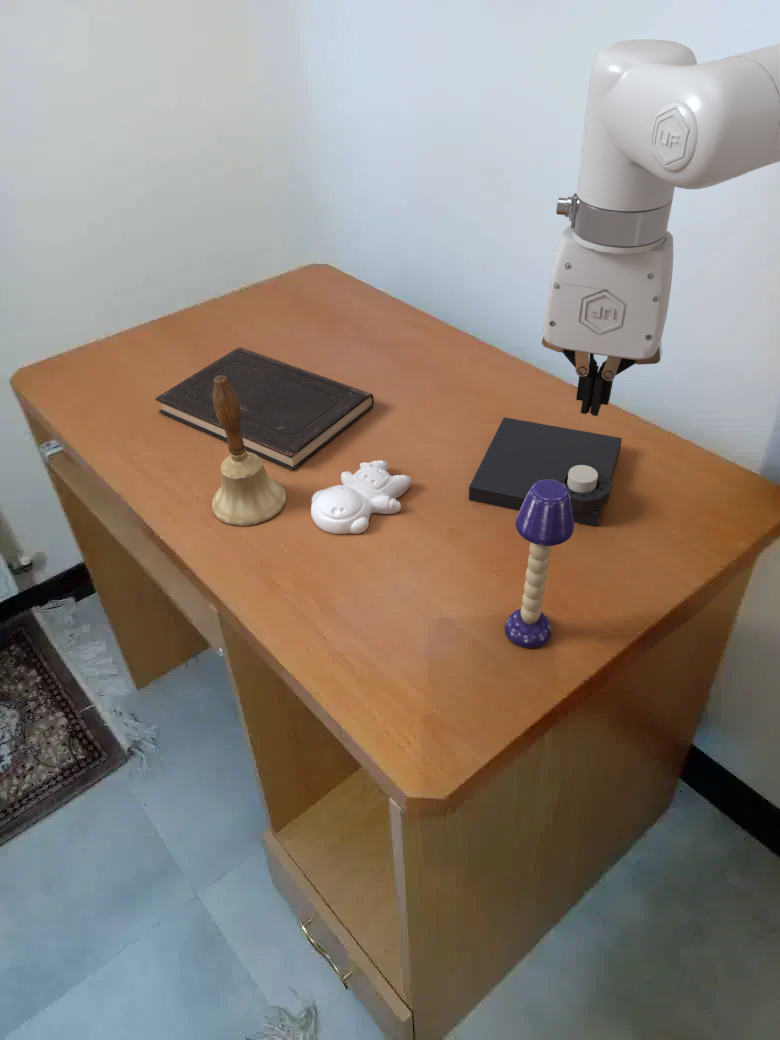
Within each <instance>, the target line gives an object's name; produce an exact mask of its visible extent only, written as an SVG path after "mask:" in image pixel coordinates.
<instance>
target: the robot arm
mask: <svg viewBox="0 0 780 1040" xmlns="http://www.w3.org/2000/svg"><path fill="white" fill-rule="evenodd" d="M587 89H588V90H587V96H586V107H585V115H584V125H583V132H582V133H583V134H582V143H581V148H580V150H581V151H580V158H579V159H580V160H579V169H578V177H577V187H576V192H575V193H574V194H573V195H572V196H567V197H559V198H558V199H557V203H556V210H555V211H556V212H555V213H556V215H558V216H564V218H568V221H569V222H571V223H570V225H568V226H567V227H566V228H565V229H564V230H563V232H562V234H561V236H560V239H559V243H558V244H557V245H558V246H557V249H556V253H555V257H554V261H553V265H552V270H551V275H550V280H549V287H548V293H547V298H546V307H545V313H544V319H543V329H542V331H543V333H542V334H543V337H542V340H541V345H542V347H544V348H546V349H549V350H552V351H555V352H557V353H562V354H563V356H565V358H566V359H567V360H568V361H569V362H570V363H571V365H572V366H573V367H574V368H575V373H576V375H577V376H578V383H577V389H576V396H575V400H576V401H581V407H580V414H582V415H587V414H590V415H591V416H593V417H594V416H595V417H598V416H599V413H600V410H601V407H602V405H604V406H609V402H610V400H611V395H612V389H613V383H614V379H615V378H616V377H617V376H618V375H619V374H621V373H622V372H624V371H626V370H628V369H629V368H631V367H632V366H634V365H638V366H639V365H656V364H659V363H660V362H661V358H662V355H663V346H662V345H663V343H662V337H663V334H664V329H665V324H666V322H667V321H666V320H667V317H668V310H669V304H670V303H669V302H670V296H671V291H672V290H671V289H672V281H673V273H674V272H673V270H674V236H673V235H672V233H671V232H670V231H668V226H669V221H670V215H671V211H672V205H673V202H674V201H673V200H674V193H675V190H676V189H675V188H678V189H684V190H701V189H706V188H707V189H708V188H710V187H714V186H716V185H717V186H718V185H719V184H722V183H724V182H727V181H730V180H732V179H733V180H734V179H735V178H738V177H740V176H743V175H746V174H748V173H750V172H753V171H755V170H758V169H761V168H764V167H767V166H770V165H773V164H776V163H780V42H779V43H777V44H774V45H770V46H766V47H760V48H756V49H753V50H752V49H751V50H749V51H744V52H741V53H737V54H734V55H729V56H726V57H724V58H721V59H715V60H710V61H706V62H701V63H698V61H697V58H696V55H695V53H694V51H693V50H691V48H689V47H688V46H686V45H685V44H681V43H679V42H676V41H671V40H667V39H666V40H665V39H652V38H651V39H648V38H647V39H645V38H643V39H628V40H622V41H621V40H620V41H616V42H614V43H611V44H609V45H607V46H604V47H603V48H602V49H601V50H600V51H599V52H598V53H597V54H596V56H595V57H594V60H593V61H592V64H591V67H590V73H589V80H588V88H587ZM595 355H598V356H603V357H604V356H605V357H606V360H604V361H603V362H602V363H601V365H600V366H599V365H598V362H597V361H596V359H595V357H596V356H595Z"/></svg>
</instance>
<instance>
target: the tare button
mask: <svg viewBox="0 0 780 1040" xmlns="http://www.w3.org/2000/svg"><path fill="white" fill-rule="evenodd" d="M597 479H598V473H597V471H596V470H595V469H594V468H592V467H590V466H586V465H577V466H574V467H572V468H571V469H570V470H569V472H568V480H567V486H568V488H569V489H571V490H572V491H574V492H579V493H590V492H593V491H594V490H595V489H596V485H597Z"/></svg>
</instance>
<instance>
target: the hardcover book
mask: <svg viewBox="0 0 780 1040" xmlns="http://www.w3.org/2000/svg"><path fill="white" fill-rule="evenodd" d="M220 375H224V376H226V377H227V379H228V381H229V383H230V385H231V386H232V388H233V389H234V391H235V392H236V394H237V397H238V399H239V403H240V409H241V422H240V431H241V435H242V438H243V442H244V445H245V449H246V451H247V452H251V453H254V454H256V455H257V456H259V457H260V458H261V459H264V460H267V461H269V462H271V463H273V464H276V465H277V466H280V467H282V468H284V469H287V470H289V471H291V472H294V471H296V469H297V468H299V467H301V465H303V464H304V463H306V461H308V460H309V459H311V458H312V457H313V456H315V454H316V453H318V452H319V451H321V450H322V449H323V448H325V446H327V445H328V444H329V443H331V442H332V441H333V440H334V439H336V438H337V437H338V436H339V435H340V434H342V433H343V432H344V431H346V430H347V429H348V428H349V427H351V426H352V425H353V424H354V423H356V422H357V421H359V419H361V418H362V417H363V416H364V415H366V414H367V413H368V412H370V411H371V410H372V409H373V407H374V406H375V405H374V404H375V399H374V394H372V393H371V392H368V391H365V390H363V389H359V388H357V387H354V386H351V385H348V384H345V383H343V382H339V381H337V380H334V379H331V378H328V377H326V376H323V375H320V374H317V373H314V372H311V371H309V370H306V369H303V368H300V367H297V366H294V365H291V364H289V363H286V362H283V361H280V360H278V359H275V358H272V357H270V356H267V355H264V354H261V353H258V352H255V351H253V350H251V349H247V348H244V347H242V346H239V347H236V348H235V349H234V350H232V351H230V352H228V353H227V354H225V355H224V356H222V357H220V358H218V359H217V360H216V361H213V362H212V363H210V364H209V365H207V366H205V367H204V368H203V369H201V370H199V371H197V372H196V373H194V374H193V375H191V376H189V377H187V378H186V379H184V380H182V381H181V382H179V383H178V384H176V385H174V386H173V387H171V388H170V389H167V390H166V391H165V392H163V393H162V394H160V395H157V397H155V401H156V402H159V403H160V407H161V409H160V410H158V413H159V414H161V415H164V416H165V417H168V418H170V419H172V420H175V421H177V422H179V423H182V424H184V425H187V426H189V427H191V428H193V429H196V430H198V431H200V432H202V433H205V434H206V435H209V436H212V437H214V438H216V439H219V440H220V441H222V442H225V443H227V444H228V441H227V436H226V433H225V430H224V428H223V427H222V425H221V424H220V422H219V420H218V418H217V416H216V413H215V410H214V405H213V390H214V378H215V377H216V376H220Z"/></svg>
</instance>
